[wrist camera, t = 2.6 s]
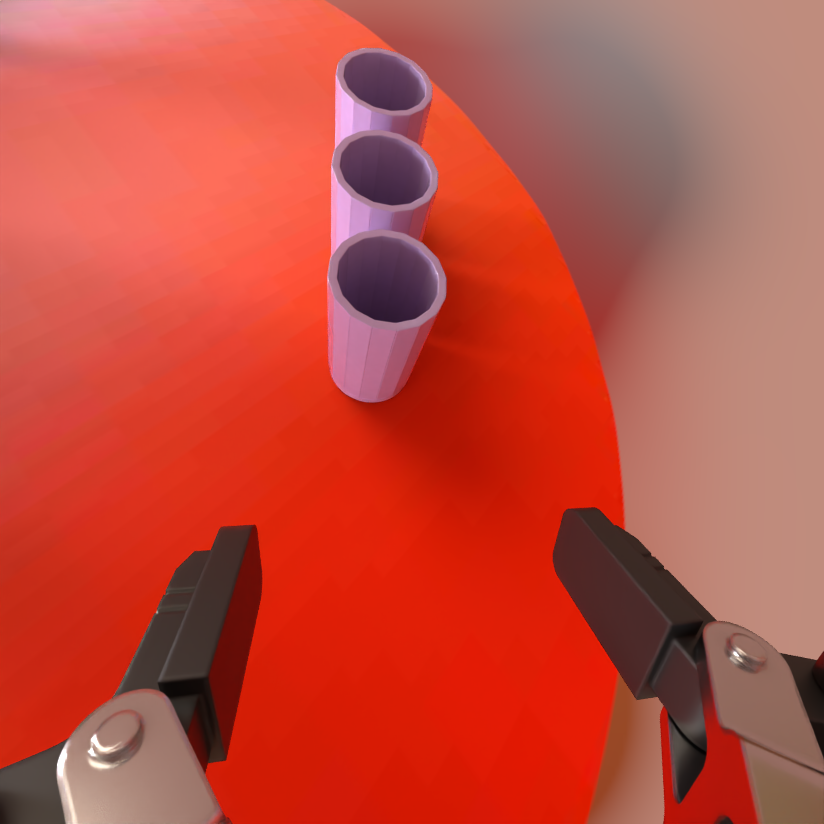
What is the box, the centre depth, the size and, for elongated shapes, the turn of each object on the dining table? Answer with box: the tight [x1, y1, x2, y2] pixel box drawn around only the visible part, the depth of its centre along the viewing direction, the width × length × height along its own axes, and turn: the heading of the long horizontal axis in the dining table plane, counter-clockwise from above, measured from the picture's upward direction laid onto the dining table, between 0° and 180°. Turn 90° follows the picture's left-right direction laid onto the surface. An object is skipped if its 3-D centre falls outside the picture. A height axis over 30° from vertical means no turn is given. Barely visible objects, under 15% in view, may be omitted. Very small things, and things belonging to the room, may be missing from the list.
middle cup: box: [331, 130, 438, 256], centre depth 27 cm, size 6×6×10 cm
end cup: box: [327, 229, 447, 402], centre depth 24 cm, size 6×6×10 cm
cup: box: [335, 48, 433, 148], centre depth 29 cm, size 6×6×10 cm
